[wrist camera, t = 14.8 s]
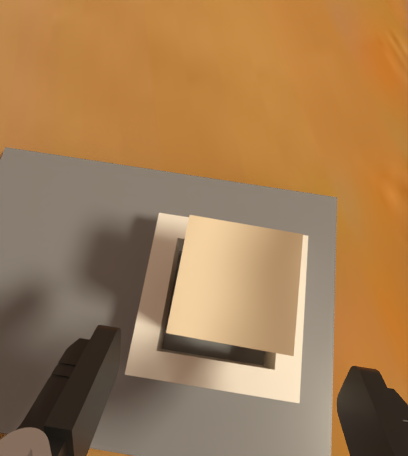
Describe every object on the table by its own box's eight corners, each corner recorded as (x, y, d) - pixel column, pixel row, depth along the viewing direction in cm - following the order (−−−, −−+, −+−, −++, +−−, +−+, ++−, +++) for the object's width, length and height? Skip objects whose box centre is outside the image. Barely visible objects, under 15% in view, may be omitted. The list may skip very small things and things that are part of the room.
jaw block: (178, 335, 21) (165, 332, 11) (191, 267, 22) (189, 214, 13) (247, 348, 21) (293, 356, 11) (256, 279, 22) (303, 234, 12)
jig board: (-82, 409, 20) (-156, 428, 16) (15, 157, 26) (-20, 122, 22) (320, 478, 20) (355, 516, 15) (329, 205, 25) (356, 178, 21)
